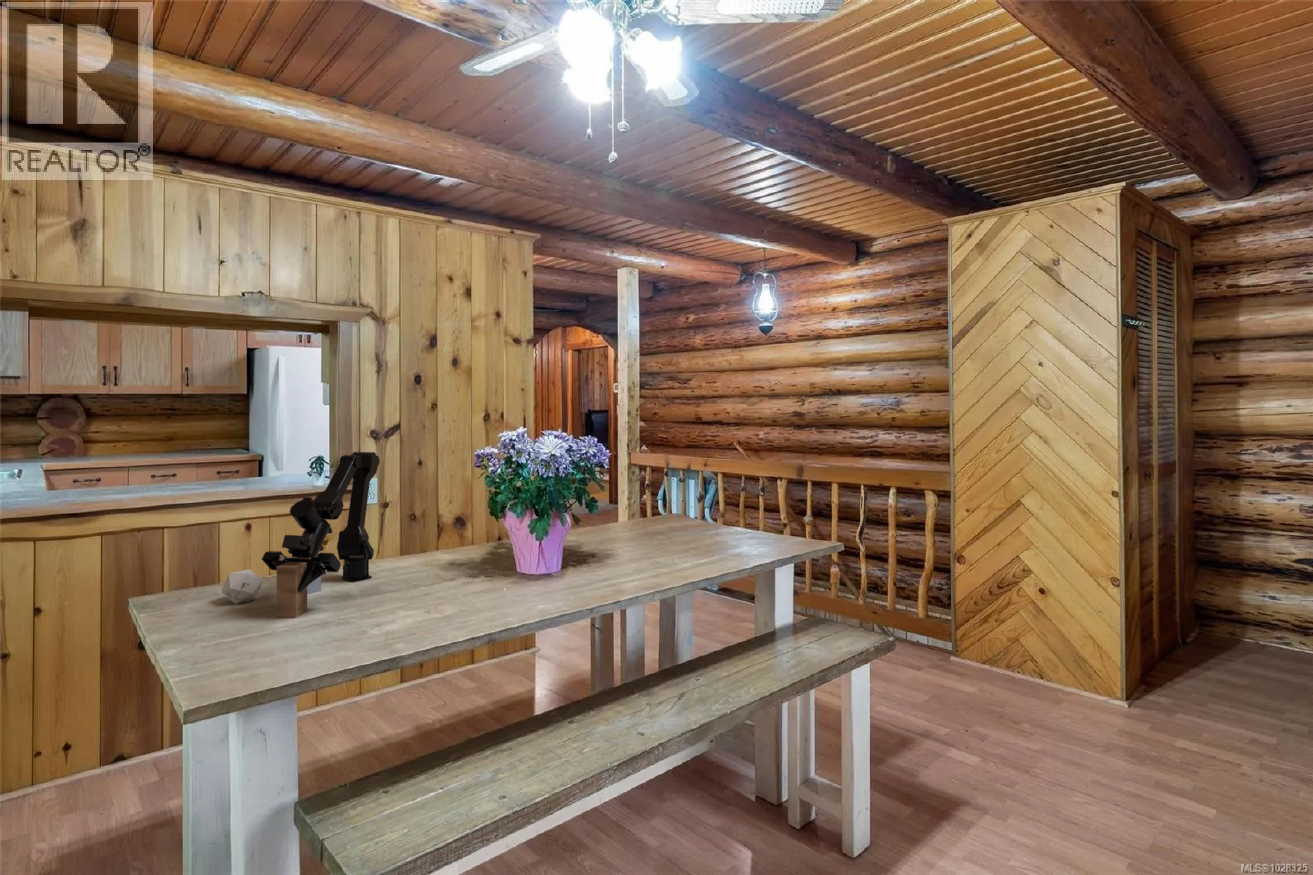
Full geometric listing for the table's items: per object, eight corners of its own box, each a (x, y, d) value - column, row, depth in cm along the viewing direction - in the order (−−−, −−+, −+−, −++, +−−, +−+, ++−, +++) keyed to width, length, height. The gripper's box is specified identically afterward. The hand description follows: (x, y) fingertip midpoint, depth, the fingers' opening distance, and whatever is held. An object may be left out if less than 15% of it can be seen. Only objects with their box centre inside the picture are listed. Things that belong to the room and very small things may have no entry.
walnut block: (288, 610, 174) (288, 561, 173) (307, 611, 174) (307, 562, 173) (276, 616, 169) (276, 566, 168) (295, 617, 169) (295, 567, 168)
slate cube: (309, 588, 194) (309, 571, 194) (321, 590, 192) (320, 573, 192) (293, 592, 190) (293, 575, 190) (305, 595, 188) (305, 578, 187)
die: (214, 607, 178) (225, 581, 174) (224, 583, 185) (235, 558, 181) (249, 614, 182) (260, 589, 178) (258, 590, 189) (269, 566, 185)
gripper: (265, 520, 175) (237, 573, 164) (334, 522, 174) (310, 575, 163) (284, 543, 183) (258, 595, 173) (350, 545, 182) (328, 597, 172)
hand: (288, 590), depth 170 cm, fingers closed on walnut block, 5 cm apart
